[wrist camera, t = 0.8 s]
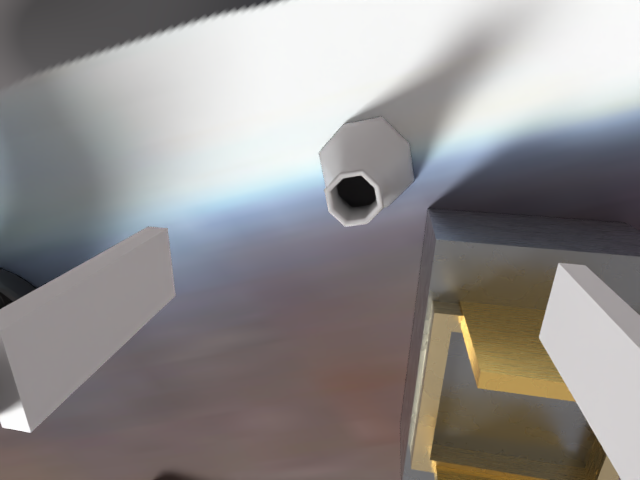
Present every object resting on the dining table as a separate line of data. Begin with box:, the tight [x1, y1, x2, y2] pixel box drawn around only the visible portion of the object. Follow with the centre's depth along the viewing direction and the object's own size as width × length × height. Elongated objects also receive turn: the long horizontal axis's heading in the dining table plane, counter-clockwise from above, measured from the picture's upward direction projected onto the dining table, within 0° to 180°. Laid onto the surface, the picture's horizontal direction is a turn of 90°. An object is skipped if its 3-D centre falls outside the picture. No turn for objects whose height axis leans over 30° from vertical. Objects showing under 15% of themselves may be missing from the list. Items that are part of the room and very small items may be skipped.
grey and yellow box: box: [400, 208, 640, 480], centre depth 28 cm, size 14×25×14 cm, turn 179°
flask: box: [319, 116, 414, 227], centre depth 26 cm, size 7×7×10 cm
